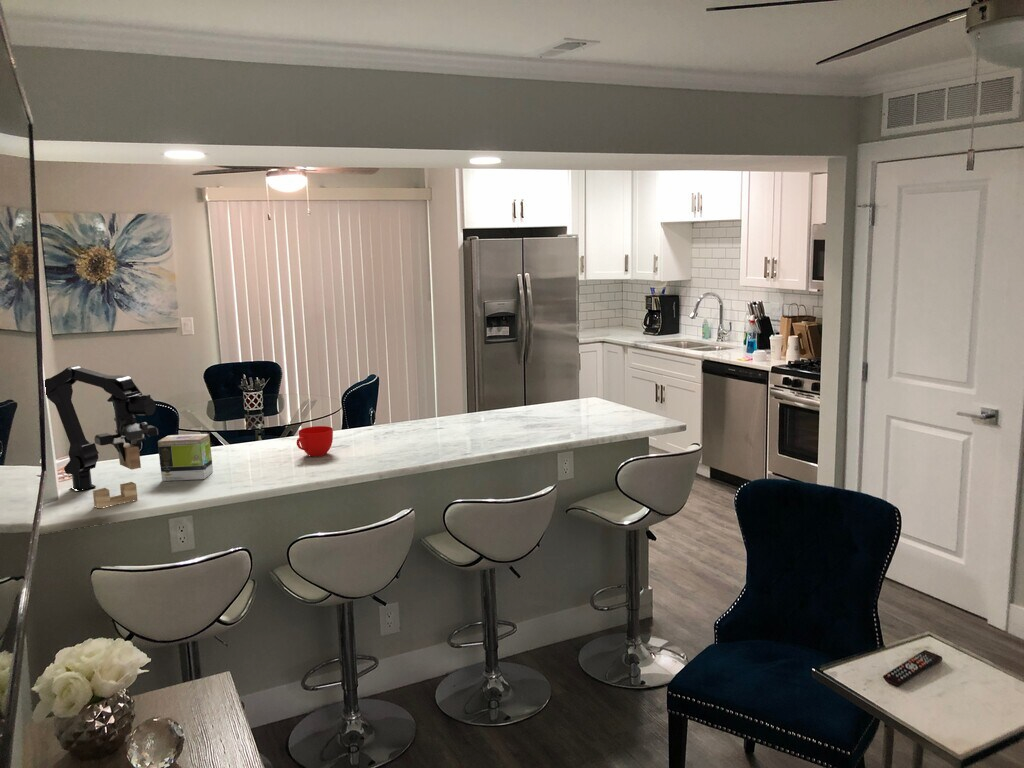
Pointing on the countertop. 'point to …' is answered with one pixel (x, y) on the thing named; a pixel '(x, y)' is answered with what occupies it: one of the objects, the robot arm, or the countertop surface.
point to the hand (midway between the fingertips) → (129, 460)
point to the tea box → (185, 457)
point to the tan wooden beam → (131, 457)
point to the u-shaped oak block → (104, 498)
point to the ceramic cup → (315, 440)
